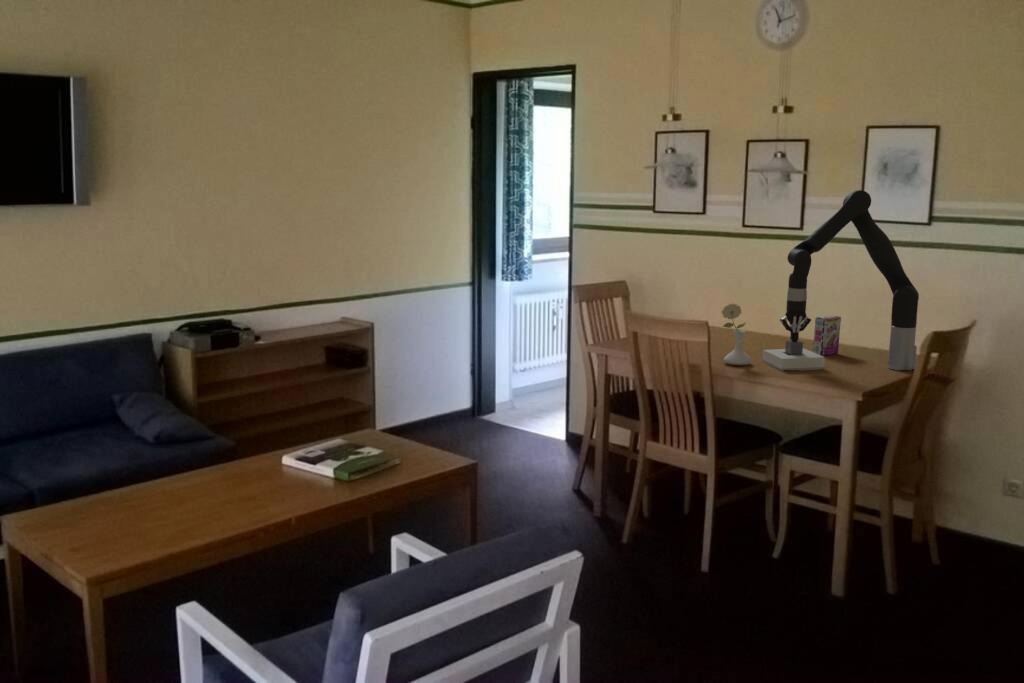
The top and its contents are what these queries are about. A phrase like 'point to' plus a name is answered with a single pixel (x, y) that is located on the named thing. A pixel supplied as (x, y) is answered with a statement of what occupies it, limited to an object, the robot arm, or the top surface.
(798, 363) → the socket
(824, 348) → the candy bar box
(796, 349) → the plug
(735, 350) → the flower in vase
